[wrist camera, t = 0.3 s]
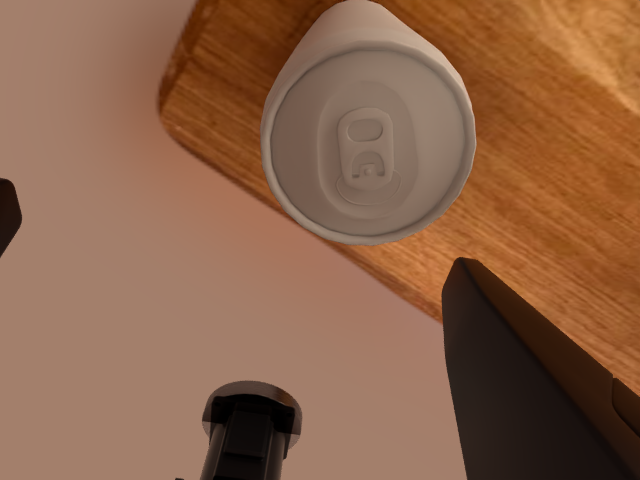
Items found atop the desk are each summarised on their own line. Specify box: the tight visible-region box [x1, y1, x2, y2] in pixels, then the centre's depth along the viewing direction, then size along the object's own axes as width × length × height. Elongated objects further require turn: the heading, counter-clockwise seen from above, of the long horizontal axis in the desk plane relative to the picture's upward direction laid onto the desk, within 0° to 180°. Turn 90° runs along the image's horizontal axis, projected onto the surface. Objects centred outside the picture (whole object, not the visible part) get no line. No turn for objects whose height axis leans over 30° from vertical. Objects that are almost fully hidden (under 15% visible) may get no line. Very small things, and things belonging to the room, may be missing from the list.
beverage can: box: [260, 0, 477, 246], centre depth 14 cm, size 5×5×12 cm
